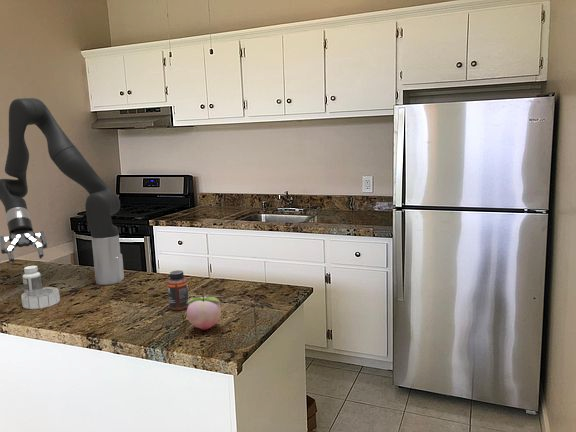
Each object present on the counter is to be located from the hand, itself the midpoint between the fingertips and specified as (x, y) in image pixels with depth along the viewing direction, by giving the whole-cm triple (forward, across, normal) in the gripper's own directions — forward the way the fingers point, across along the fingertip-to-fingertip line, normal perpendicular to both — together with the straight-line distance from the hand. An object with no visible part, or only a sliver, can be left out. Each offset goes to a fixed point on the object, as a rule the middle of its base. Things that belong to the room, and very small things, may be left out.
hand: (27, 259), depth 161 cm
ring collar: (+20, +1, -5) cm, 21 cm away
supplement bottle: (+44, +34, -28) cm, 62 cm away
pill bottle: (+13, 0, +3) cm, 13 cm away
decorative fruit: (+58, +33, -42) cm, 79 cm away
